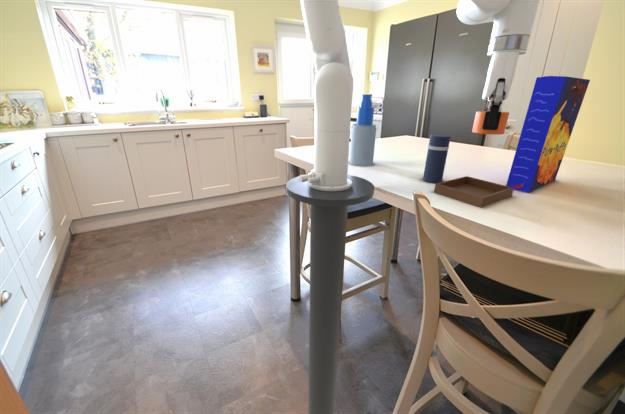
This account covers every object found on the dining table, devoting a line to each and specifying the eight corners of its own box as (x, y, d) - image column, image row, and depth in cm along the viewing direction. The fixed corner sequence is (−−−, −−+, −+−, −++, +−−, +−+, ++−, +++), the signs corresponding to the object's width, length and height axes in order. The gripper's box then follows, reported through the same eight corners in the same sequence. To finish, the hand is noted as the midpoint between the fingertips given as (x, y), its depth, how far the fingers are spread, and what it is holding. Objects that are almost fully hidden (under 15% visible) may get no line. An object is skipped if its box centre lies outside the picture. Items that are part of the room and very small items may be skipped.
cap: (494, 135, 67) (500, 113, 65) (466, 132, 72) (470, 111, 70) (509, 133, 70) (514, 112, 68) (481, 130, 76) (485, 110, 74)
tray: (481, 207, 69) (483, 197, 68) (433, 192, 79) (435, 183, 78) (511, 196, 76) (514, 187, 75) (464, 183, 87) (466, 176, 86)
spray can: (434, 184, 86) (443, 137, 81) (418, 179, 90) (426, 134, 85) (445, 181, 89) (454, 136, 83) (430, 177, 93) (437, 133, 88)
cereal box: (528, 192, 79) (566, 75, 68) (505, 187, 84) (537, 76, 73) (554, 180, 91) (590, 78, 80) (533, 176, 96) (564, 79, 85)
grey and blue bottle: (376, 162, 111) (383, 94, 102) (367, 167, 104) (374, 94, 95) (355, 159, 116) (360, 94, 106) (345, 163, 109) (350, 93, 99)
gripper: (486, 52, 73) (471, 124, 80) (490, 42, 59) (471, 130, 65) (521, 51, 70) (502, 125, 76) (534, 40, 55) (510, 133, 62)
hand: (488, 127), depth 71 cm, fingers closed on cap, 7 cm apart
